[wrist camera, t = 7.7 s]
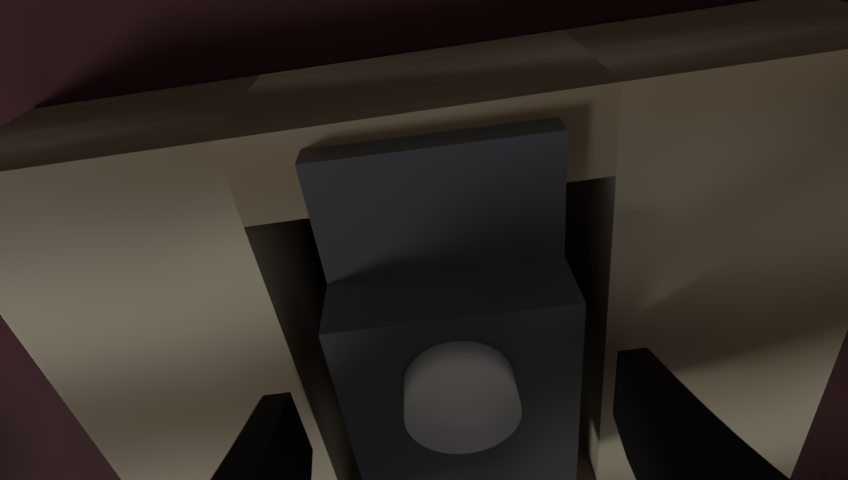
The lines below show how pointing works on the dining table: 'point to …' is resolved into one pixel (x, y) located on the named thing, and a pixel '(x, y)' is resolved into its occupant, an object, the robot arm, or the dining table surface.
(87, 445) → the dining table surface
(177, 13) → the dining table surface
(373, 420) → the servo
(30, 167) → the tan slotted block
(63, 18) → the dining table surface
